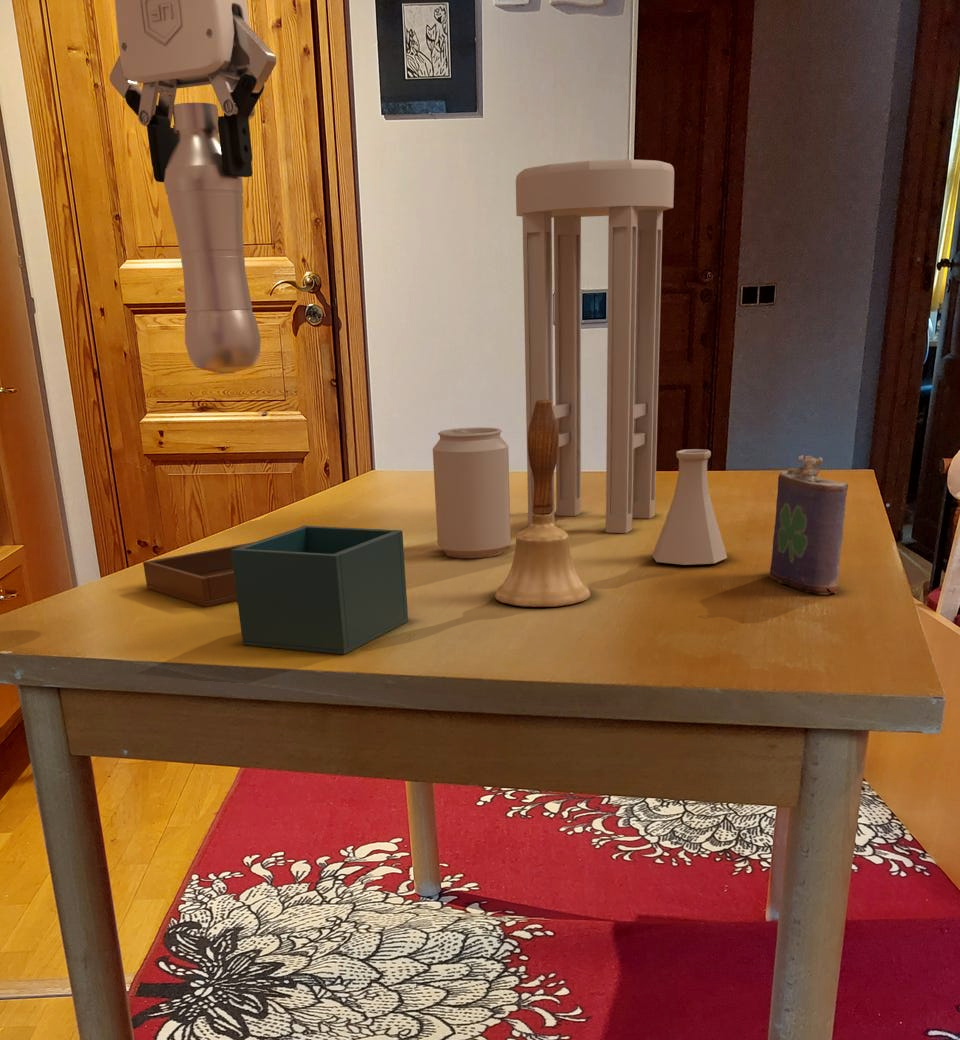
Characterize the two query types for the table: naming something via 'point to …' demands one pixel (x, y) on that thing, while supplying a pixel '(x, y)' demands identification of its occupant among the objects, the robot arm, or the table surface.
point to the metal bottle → (210, 245)
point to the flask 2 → (808, 529)
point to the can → (472, 492)
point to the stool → (631, 320)
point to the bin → (321, 588)
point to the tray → (195, 576)
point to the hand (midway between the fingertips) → (203, 176)
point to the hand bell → (542, 531)
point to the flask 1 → (691, 517)
